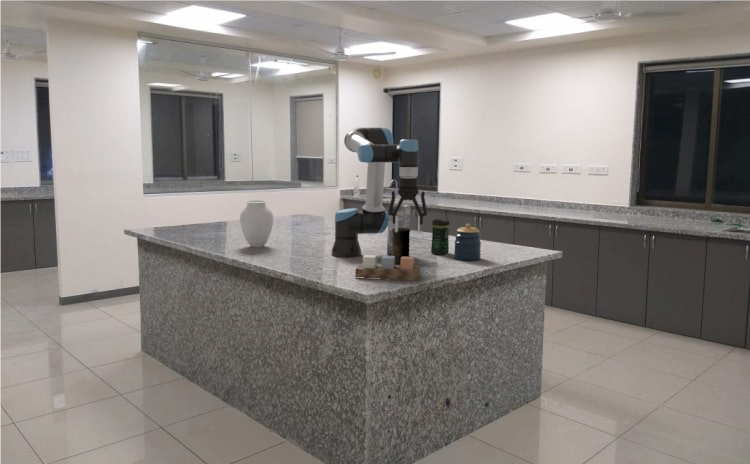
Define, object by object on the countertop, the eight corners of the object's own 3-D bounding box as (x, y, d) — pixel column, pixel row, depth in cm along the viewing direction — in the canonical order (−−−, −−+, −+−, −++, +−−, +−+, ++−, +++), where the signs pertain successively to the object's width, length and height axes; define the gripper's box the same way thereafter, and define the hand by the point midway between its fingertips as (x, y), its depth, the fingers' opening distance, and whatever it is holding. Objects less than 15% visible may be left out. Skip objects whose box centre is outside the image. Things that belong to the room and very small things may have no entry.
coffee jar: (442, 255, 293) (443, 219, 290) (428, 254, 297) (429, 218, 294) (451, 252, 301) (452, 217, 298) (437, 251, 305) (438, 216, 302)
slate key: (381, 271, 241) (381, 257, 240) (383, 269, 246) (383, 255, 245) (393, 272, 240) (393, 258, 239) (394, 269, 245) (394, 256, 244)
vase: (270, 249, 307) (269, 203, 303) (237, 249, 307) (235, 202, 303) (276, 244, 324) (275, 200, 321) (245, 243, 324) (243, 199, 321)
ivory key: (362, 271, 242) (362, 257, 241) (364, 268, 247) (364, 255, 246) (374, 271, 241) (374, 257, 240) (376, 269, 246) (376, 255, 245)
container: (389, 266, 265) (389, 227, 263) (408, 265, 266) (409, 227, 264) (391, 270, 256) (392, 230, 254) (411, 270, 257) (412, 230, 255)
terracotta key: (400, 272, 240) (400, 258, 239) (401, 270, 244) (401, 256, 244) (412, 273, 239) (412, 259, 238) (413, 270, 244) (413, 256, 243)
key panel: (355, 278, 240) (355, 268, 239) (360, 272, 251) (360, 263, 250) (417, 280, 236) (417, 271, 235) (419, 275, 247) (420, 266, 246)
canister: (464, 255, 294) (465, 221, 292) (485, 258, 285) (487, 223, 282) (448, 258, 285) (449, 223, 282) (470, 262, 276) (471, 225, 273)
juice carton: (411, 255, 293) (413, 202, 289) (397, 258, 286) (399, 204, 281) (397, 252, 299) (399, 201, 295) (384, 255, 292) (386, 202, 287)
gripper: (381, 177, 234) (380, 232, 237) (434, 178, 231) (432, 234, 234) (383, 176, 241) (383, 230, 245) (435, 177, 238) (433, 231, 241)
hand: (407, 231), depth 239 cm, fingers open, 9 cm apart
